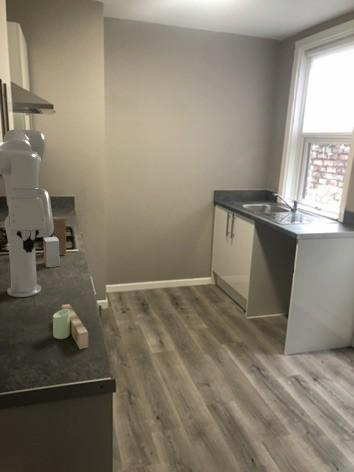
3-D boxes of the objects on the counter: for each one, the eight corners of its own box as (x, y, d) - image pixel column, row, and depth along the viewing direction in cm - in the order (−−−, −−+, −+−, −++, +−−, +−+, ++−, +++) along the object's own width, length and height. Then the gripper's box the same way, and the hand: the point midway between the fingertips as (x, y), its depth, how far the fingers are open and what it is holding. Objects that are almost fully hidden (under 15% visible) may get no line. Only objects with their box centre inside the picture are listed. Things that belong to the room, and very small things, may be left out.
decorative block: (44, 257, 197) (43, 219, 192) (43, 254, 202) (42, 217, 197) (66, 255, 202) (65, 218, 197) (65, 252, 207) (64, 216, 202)
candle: (53, 339, 117) (52, 315, 115) (53, 332, 122) (52, 308, 120) (70, 338, 119) (70, 314, 117) (69, 330, 123) (69, 307, 121)
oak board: (62, 318, 131) (61, 305, 130) (69, 317, 132) (69, 303, 131) (79, 349, 113) (79, 333, 111) (88, 347, 114) (88, 332, 113)
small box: (43, 262, 188) (43, 237, 185) (57, 261, 191) (56, 236, 188) (46, 267, 181) (45, 241, 178) (60, 266, 184) (59, 240, 181)
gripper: (48, 191, 123) (50, 246, 127) (-3, 192, 116) (1, 250, 120) (53, 194, 117) (55, 252, 121) (0, 196, 109) (4, 257, 114)
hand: (28, 251), depth 120 cm, fingers closed
